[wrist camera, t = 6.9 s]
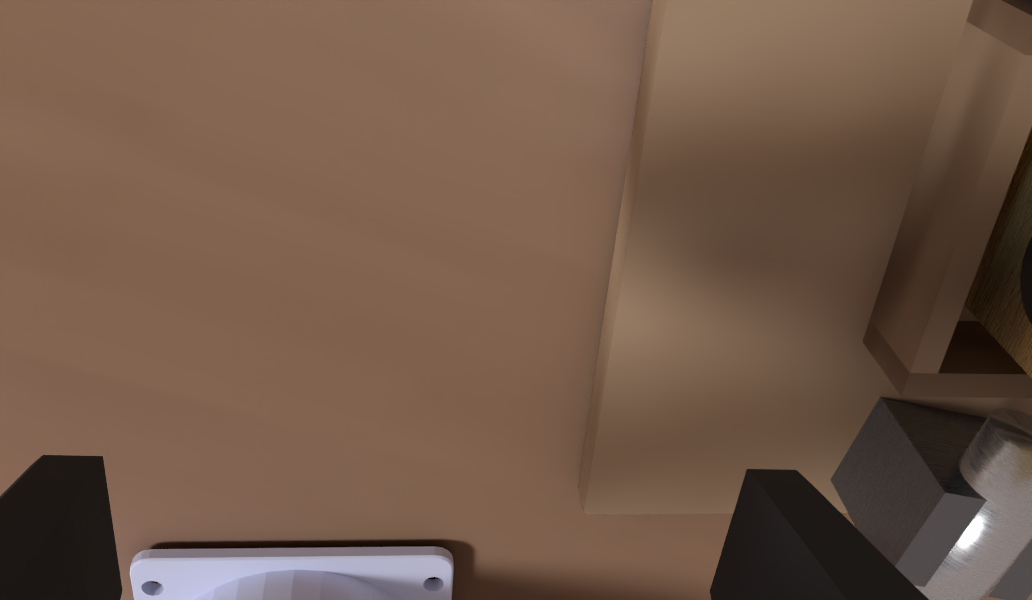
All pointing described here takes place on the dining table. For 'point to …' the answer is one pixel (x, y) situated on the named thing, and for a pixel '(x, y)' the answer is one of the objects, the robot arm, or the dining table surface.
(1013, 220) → the block
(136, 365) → the dining table surface
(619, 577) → the dining table surface
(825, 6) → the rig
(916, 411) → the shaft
